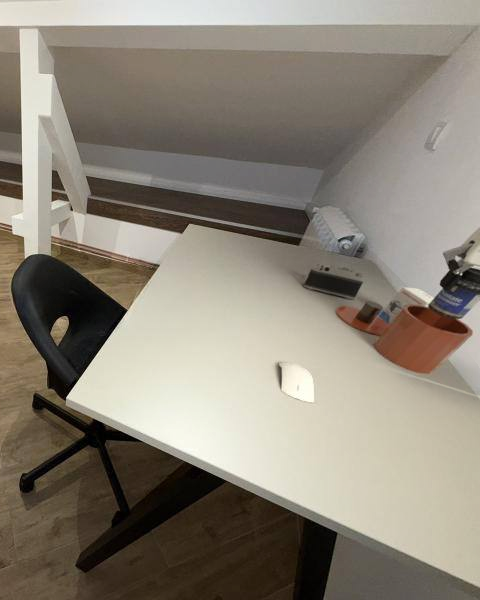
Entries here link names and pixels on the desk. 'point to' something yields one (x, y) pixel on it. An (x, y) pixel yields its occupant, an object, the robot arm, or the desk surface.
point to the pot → (421, 339)
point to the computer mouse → (297, 382)
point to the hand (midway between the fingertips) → (463, 291)
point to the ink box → (405, 302)
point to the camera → (334, 281)
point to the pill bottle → (458, 296)
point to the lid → (363, 318)
